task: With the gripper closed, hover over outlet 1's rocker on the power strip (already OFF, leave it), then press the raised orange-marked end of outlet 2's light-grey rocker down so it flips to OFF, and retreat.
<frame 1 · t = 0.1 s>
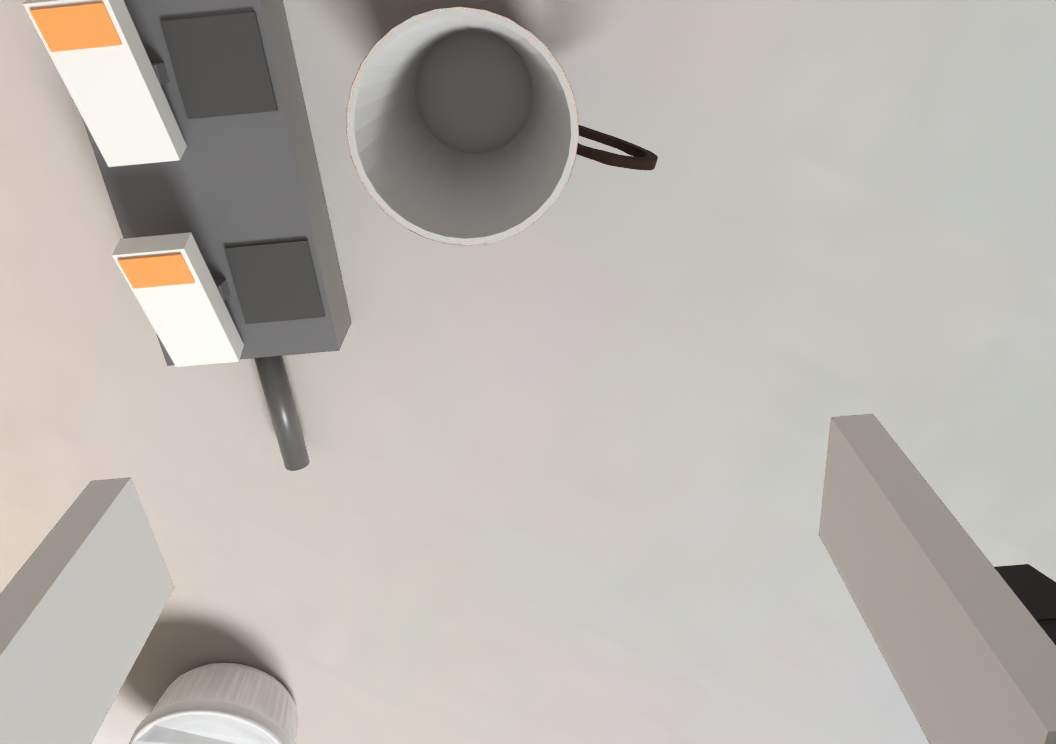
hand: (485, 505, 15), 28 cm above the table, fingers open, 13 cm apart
rocker 3: (182, 304, 37), point 5 cm above the table, hinge at 18.0°
rocker 2: (111, 82, 33), point 5 cm above the table, hinge at 18.0°
ramekin: (235, 701, 58), on the table
coffee mug: (499, 112, 39), on the table
power strip: (199, 61, 37), on the table
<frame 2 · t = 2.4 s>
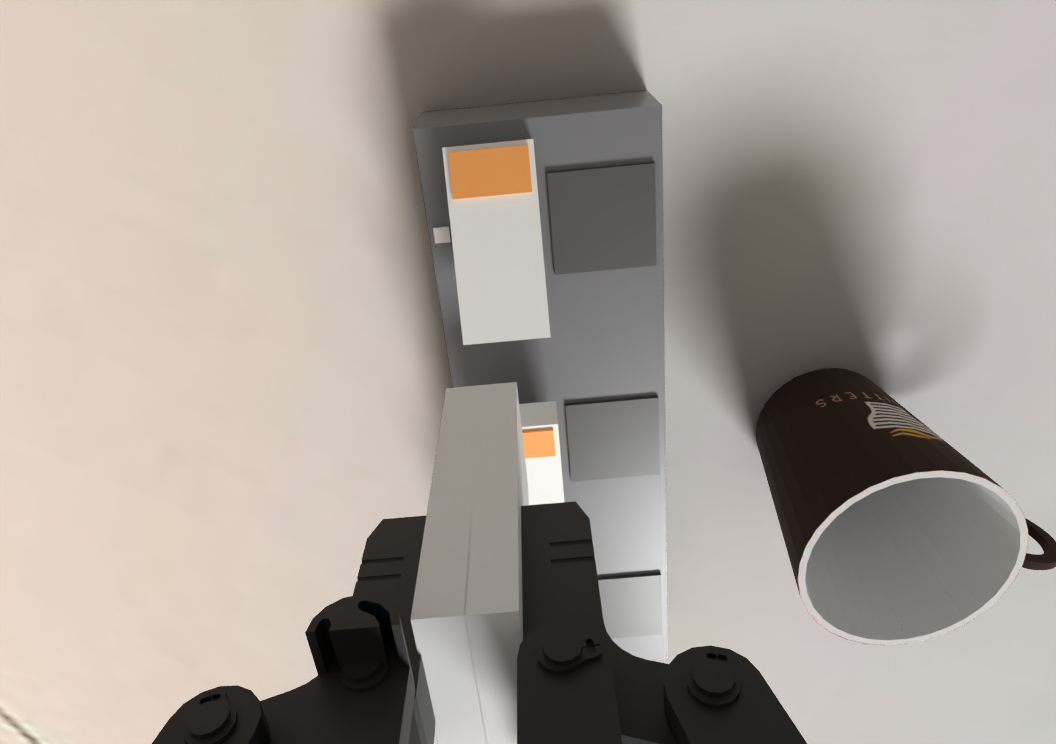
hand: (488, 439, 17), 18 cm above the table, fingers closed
rocker 2: (523, 471, 33), point 5 cm above the table, hinge at 18.0°
rocker 1: (498, 244, 29), point 5 cm above the table, hinge at -18.0°
coffee mug: (839, 438, 39), on the table
power strip: (559, 403, 38), on the table
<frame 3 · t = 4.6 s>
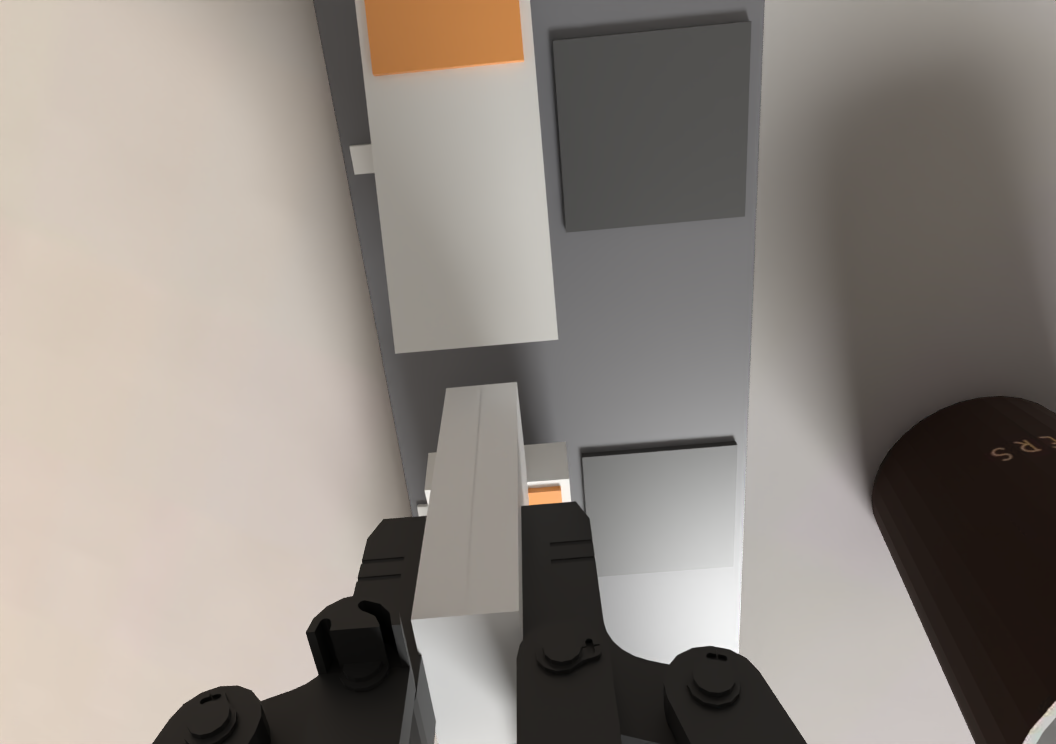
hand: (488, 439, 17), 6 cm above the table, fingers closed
rocker 2: (512, 567, 20), point 5 cm above the table, hinge at 10.7°, touching gripper
rocker 1: (461, 166, 15), point 5 cm above the table, hinge at -18.0°
coffee mug: (998, 503, 26), on the table
power strip: (571, 447, 25), on the table
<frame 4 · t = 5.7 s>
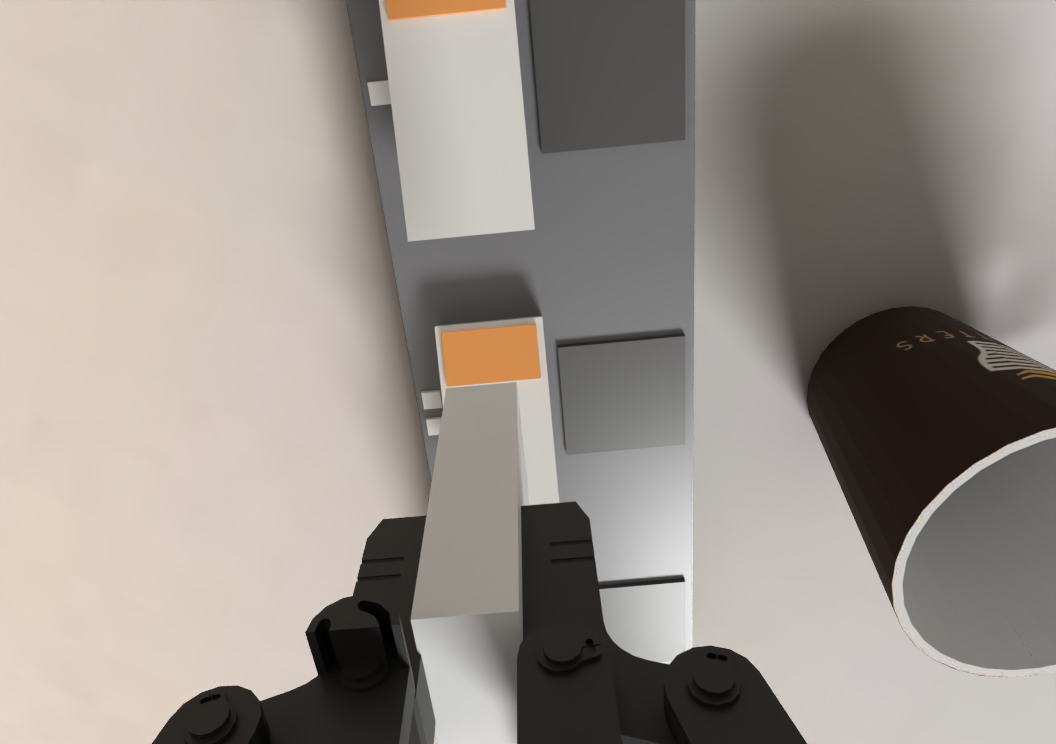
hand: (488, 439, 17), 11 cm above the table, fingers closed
rocker 2: (500, 435, 24), point 5 cm above the table, hinge at -21.3°, touching power strip
rocker 1: (457, 93, 20), point 5 cm above the table, hinge at -16.3°
coffee mug: (914, 403, 30), on the table
power strip: (550, 354, 29), on the table
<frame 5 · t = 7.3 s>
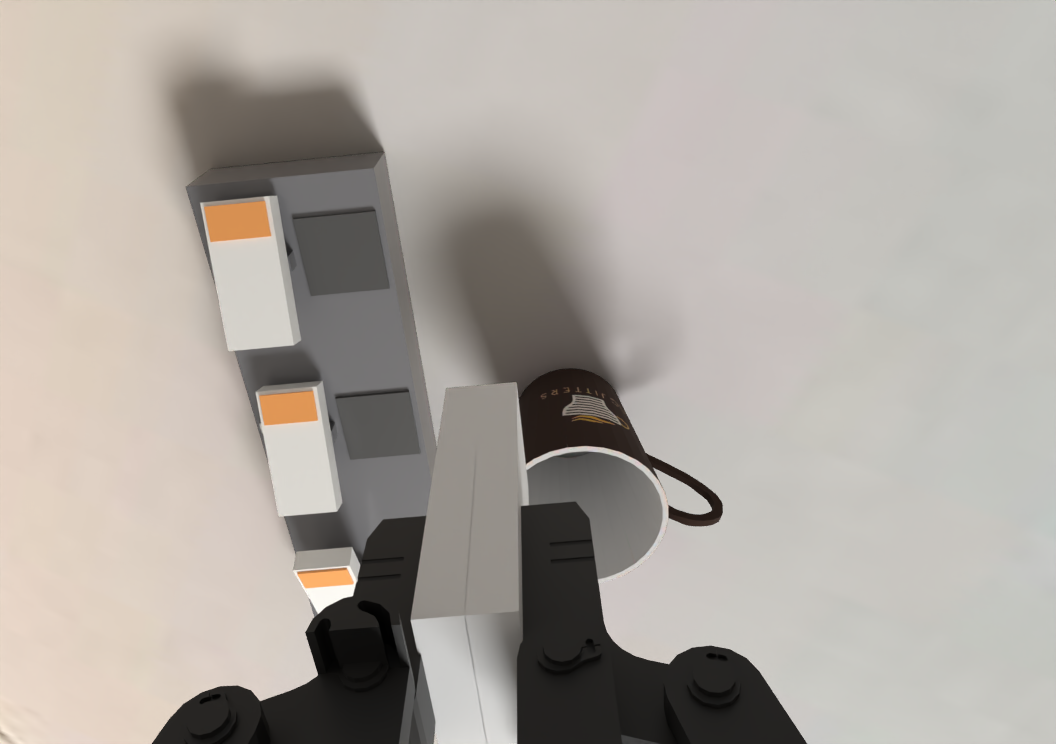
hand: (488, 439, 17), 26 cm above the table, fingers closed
rocker 3: (338, 590, 47), point 5 cm above the table, hinge at 18.0°
rocker 2: (299, 449, 42), point 5 cm above the table, hinge at -14.0°
rocker 1: (251, 274, 37), point 5 cm above the table, hinge at -14.3°
coffee mug: (587, 426, 48), on the table
power strip: (351, 397, 47), on the table
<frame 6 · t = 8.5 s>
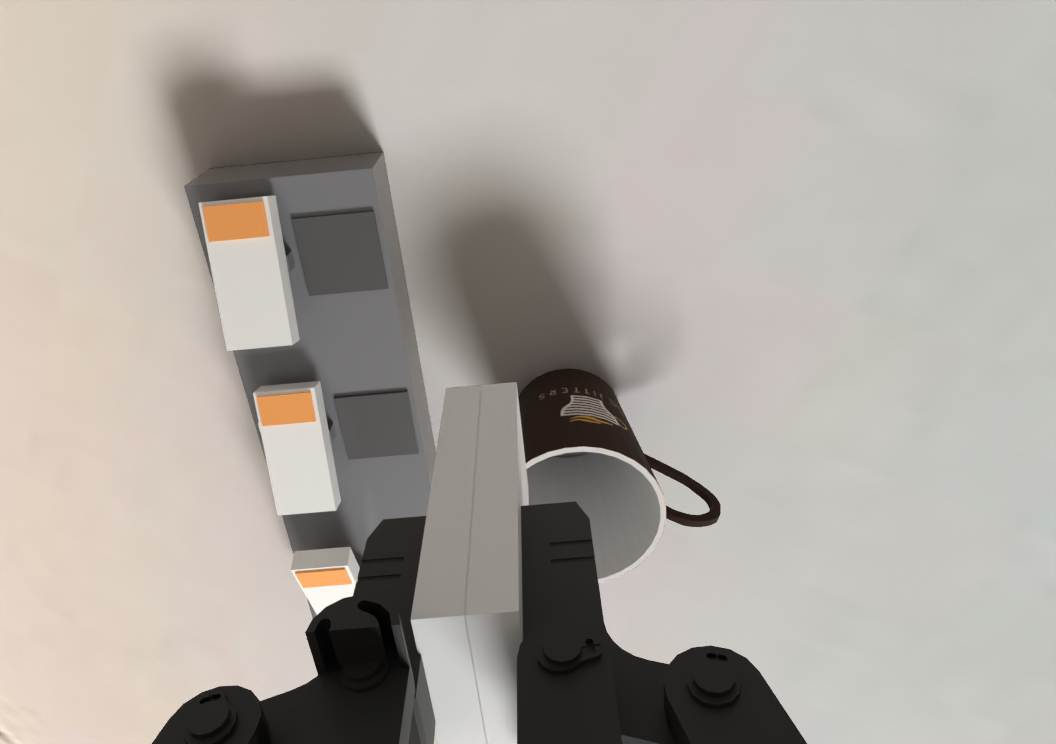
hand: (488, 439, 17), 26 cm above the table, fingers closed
rocker 3: (336, 590, 47), point 5 cm above the table, hinge at 18.0°
rocker 2: (298, 449, 42), point 5 cm above the table, hinge at -11.6°
rocker 1: (250, 274, 37), point 5 cm above the table, hinge at -13.6°
coffee mug: (585, 426, 48), on the table
power strip: (349, 396, 47), on the table
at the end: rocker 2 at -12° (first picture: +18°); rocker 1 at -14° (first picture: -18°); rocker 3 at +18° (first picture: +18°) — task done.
